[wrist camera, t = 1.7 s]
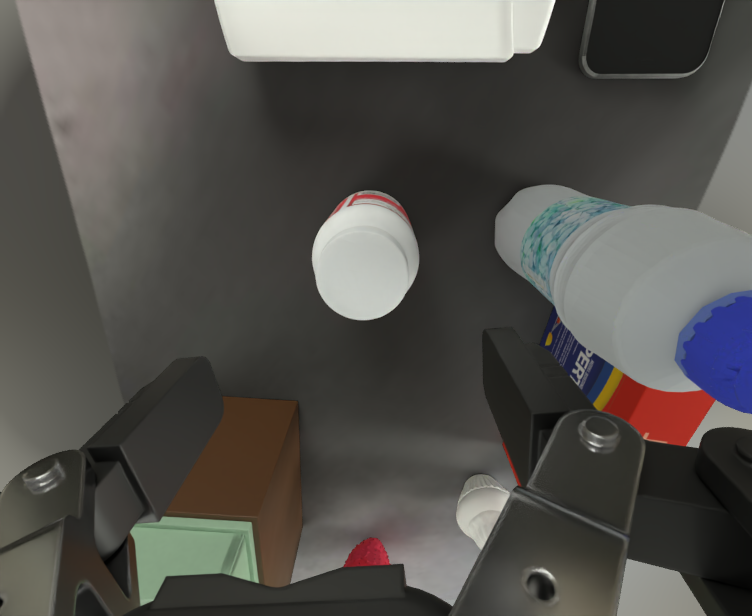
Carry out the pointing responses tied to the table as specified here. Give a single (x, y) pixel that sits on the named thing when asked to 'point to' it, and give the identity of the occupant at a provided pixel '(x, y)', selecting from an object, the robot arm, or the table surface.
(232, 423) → the rack
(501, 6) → the squeeze bottle
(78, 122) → the table surface
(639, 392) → the red cardboard box
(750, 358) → the bottle
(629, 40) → the smartphone
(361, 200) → the pill bottle
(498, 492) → the muffin
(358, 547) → the strawberry
